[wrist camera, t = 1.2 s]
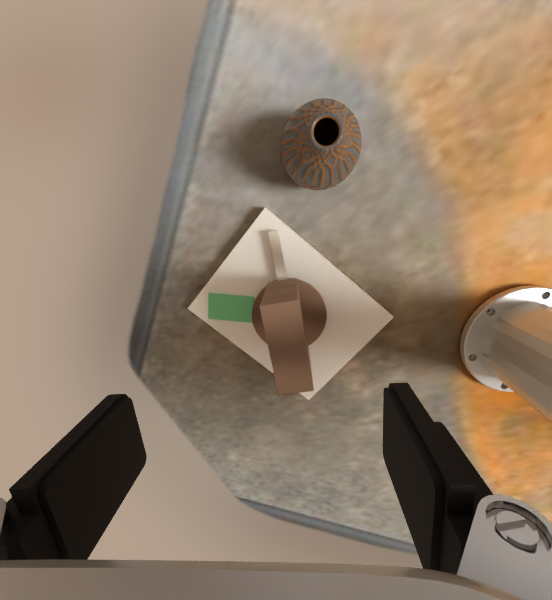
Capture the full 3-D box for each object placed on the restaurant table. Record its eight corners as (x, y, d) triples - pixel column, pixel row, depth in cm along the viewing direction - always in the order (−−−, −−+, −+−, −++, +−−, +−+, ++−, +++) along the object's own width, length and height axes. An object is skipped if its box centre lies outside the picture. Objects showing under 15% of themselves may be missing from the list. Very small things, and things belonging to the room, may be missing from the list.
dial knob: (330, 341, 32) (344, 386, 24) (260, 352, 33) (249, 399, 25) (312, 223, 29) (321, 226, 20) (235, 238, 30) (212, 247, 21)
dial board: (389, 312, 33) (394, 317, 31) (308, 392, 36) (308, 400, 35) (266, 207, 30) (265, 207, 29) (191, 304, 34) (187, 309, 32)
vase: (294, 202, 30) (295, 197, 22) (272, 132, 28) (263, 98, 20) (359, 178, 29) (386, 163, 21) (340, 104, 27) (361, 55, 19)
